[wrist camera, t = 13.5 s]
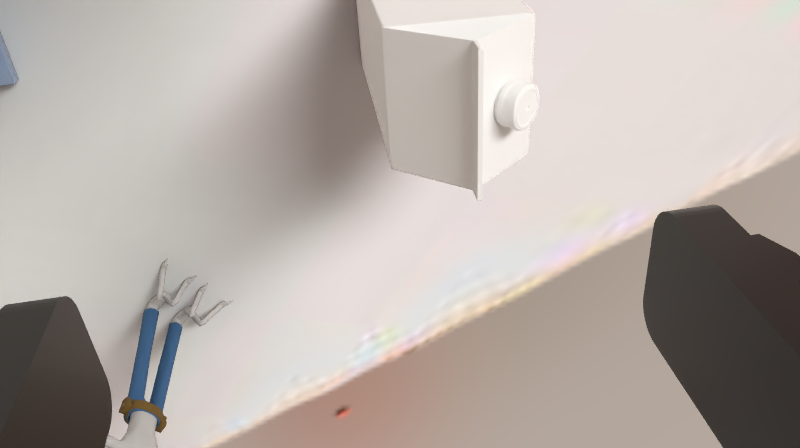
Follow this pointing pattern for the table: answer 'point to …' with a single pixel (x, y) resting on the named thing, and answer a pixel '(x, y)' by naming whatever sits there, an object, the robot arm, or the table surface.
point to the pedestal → (6, 66)
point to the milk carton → (451, 84)
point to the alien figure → (139, 413)
